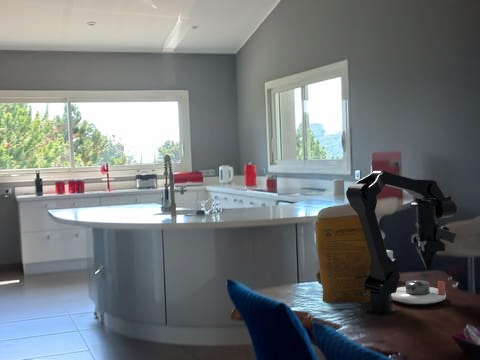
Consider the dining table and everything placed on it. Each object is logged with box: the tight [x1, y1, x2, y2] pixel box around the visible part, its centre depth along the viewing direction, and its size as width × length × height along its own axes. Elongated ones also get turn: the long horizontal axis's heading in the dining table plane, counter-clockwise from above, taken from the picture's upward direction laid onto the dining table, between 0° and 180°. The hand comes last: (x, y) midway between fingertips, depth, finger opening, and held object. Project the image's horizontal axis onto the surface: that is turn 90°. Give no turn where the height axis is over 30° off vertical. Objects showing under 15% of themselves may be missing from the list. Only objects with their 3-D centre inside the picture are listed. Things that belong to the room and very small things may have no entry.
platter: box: [391, 280, 447, 304], centre depth 177 cm, size 17×17×5 cm
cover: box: [404, 279, 431, 296], centre depth 177 cm, size 7×7×4 cm
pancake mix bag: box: [314, 214, 371, 304], centre depth 180 cm, size 7×19×28 cm, turn 84°
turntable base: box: [399, 302, 438, 307], centre depth 177 cm, size 12×12×1 cm
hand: (428, 269), depth 175 cm, fingers closed
